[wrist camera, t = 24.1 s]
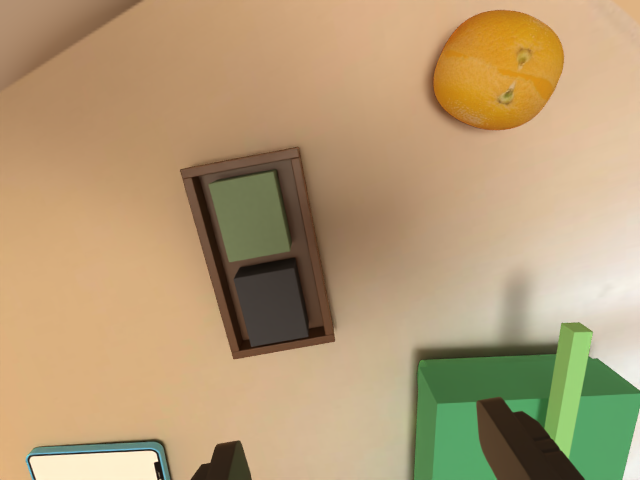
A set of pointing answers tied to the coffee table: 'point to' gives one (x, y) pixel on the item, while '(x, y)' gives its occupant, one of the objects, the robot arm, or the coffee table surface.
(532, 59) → the fruit
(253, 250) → the sage pad
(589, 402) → the toy tank
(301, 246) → the brown wooden tray
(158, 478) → the smartphone
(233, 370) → the coffee table surface
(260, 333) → the charcoal block
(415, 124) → the coffee table surface
